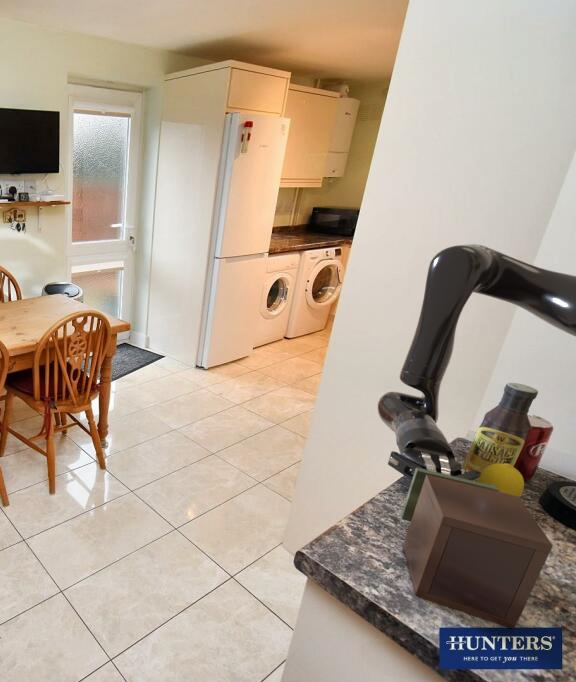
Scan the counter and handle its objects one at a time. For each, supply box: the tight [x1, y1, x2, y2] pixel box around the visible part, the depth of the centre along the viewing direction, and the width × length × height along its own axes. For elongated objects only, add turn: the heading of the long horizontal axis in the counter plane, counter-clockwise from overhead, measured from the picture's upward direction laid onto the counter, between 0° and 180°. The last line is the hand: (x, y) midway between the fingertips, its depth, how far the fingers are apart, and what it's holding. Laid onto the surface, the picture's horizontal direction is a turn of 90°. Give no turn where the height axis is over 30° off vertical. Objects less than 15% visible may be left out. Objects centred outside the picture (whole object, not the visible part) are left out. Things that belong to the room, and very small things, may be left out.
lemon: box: [478, 463, 525, 498], centre depth 77 cm, size 6×6×8 cm
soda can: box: [513, 412, 554, 484], centre depth 85 cm, size 7×7×12 cm
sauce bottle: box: [462, 382, 539, 473], centre depth 81 cm, size 6×6×20 cm
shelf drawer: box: [400, 468, 499, 523], centre depth 65 cm, size 11×10×10 cm
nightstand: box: [402, 474, 554, 630], centre depth 59 cm, size 10×10×13 cm
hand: (445, 496), depth 69 cm, fingers closed
